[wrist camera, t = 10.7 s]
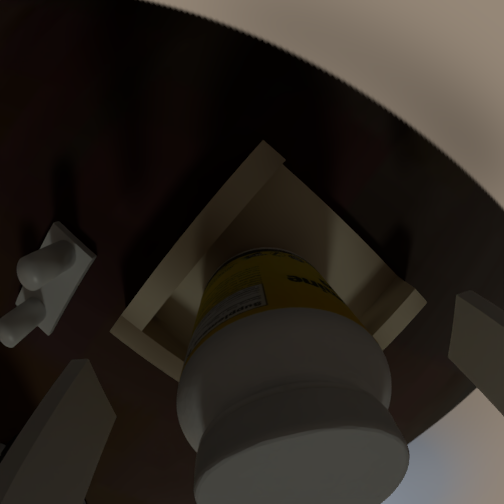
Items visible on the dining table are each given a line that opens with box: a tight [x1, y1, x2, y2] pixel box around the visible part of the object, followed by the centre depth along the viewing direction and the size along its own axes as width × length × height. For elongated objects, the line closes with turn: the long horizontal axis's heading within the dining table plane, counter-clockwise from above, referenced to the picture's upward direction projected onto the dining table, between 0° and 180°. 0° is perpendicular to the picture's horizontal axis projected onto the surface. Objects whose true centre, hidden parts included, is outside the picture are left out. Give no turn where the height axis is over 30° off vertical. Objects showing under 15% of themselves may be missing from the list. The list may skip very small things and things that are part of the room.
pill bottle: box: [177, 247, 409, 504], centre depth 10 cm, size 6×6×11 cm
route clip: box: [0, 221, 97, 348], centre depth 14 cm, size 3×6×4 cm, turn 139°
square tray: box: [110, 140, 427, 382], centre depth 15 cm, size 11×11×3 cm
